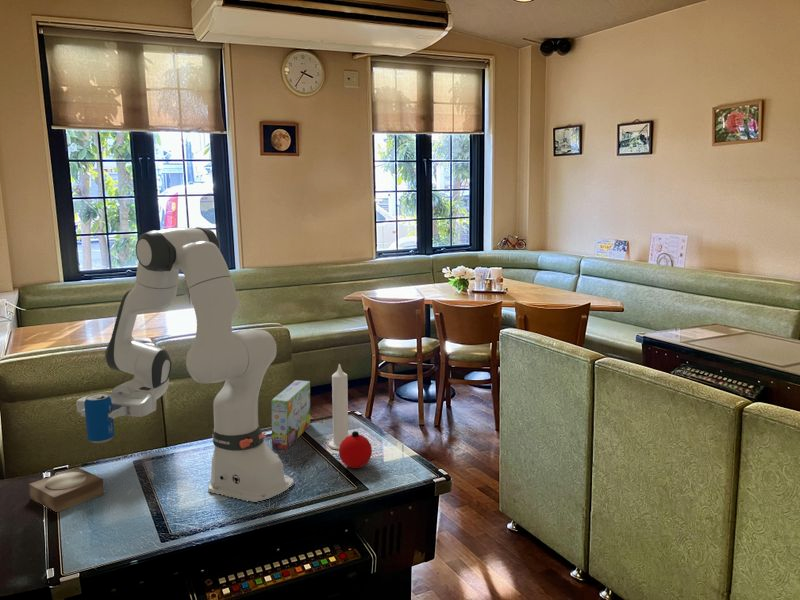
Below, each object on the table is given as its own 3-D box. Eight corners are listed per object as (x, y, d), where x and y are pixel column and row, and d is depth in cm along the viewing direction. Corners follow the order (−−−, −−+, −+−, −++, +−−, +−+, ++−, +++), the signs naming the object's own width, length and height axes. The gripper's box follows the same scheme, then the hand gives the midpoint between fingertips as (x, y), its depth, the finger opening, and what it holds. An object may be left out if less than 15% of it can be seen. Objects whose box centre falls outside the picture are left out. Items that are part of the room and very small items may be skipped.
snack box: (289, 450, 187) (288, 400, 184) (271, 449, 188) (269, 399, 185) (311, 424, 208) (310, 380, 205) (295, 423, 209) (294, 379, 206)
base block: (104, 493, 160) (102, 477, 159) (55, 513, 150) (53, 495, 149) (78, 481, 166) (77, 465, 166) (30, 499, 157) (28, 482, 156)
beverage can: (104, 445, 166) (100, 401, 164) (82, 443, 167) (78, 399, 165) (119, 435, 172) (116, 393, 170) (98, 434, 174) (94, 391, 171)
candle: (324, 445, 191) (322, 363, 187) (342, 438, 195) (341, 359, 191) (338, 452, 186) (337, 368, 181) (357, 445, 190) (356, 364, 186)
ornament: (333, 464, 177) (333, 429, 176) (362, 457, 182) (362, 423, 180) (348, 476, 170) (347, 440, 168) (377, 469, 174) (377, 434, 173)
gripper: (94, 385, 182) (60, 401, 169) (159, 389, 179) (130, 405, 165) (96, 406, 183) (62, 423, 170) (161, 411, 180) (132, 428, 166)
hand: (96, 414), depth 168 cm, fingers closed on beverage can, 6 cm apart
